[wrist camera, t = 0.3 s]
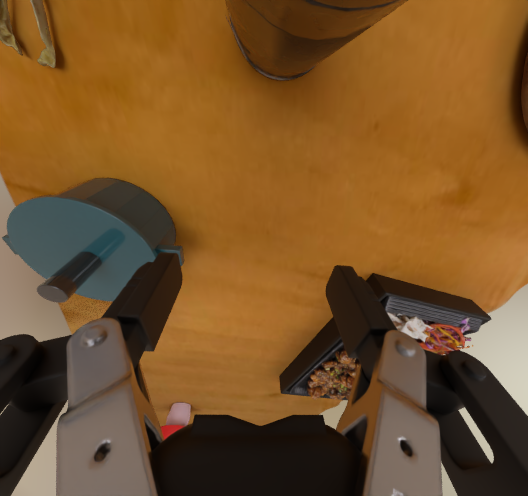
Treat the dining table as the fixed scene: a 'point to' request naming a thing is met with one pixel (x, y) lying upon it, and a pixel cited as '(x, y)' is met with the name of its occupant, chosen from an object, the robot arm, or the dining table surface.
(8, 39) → the tongs
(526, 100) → the wooden plate
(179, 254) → the saucepan
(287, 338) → the dining table surface
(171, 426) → the mushroom
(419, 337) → the food platter
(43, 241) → the pan lid
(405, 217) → the dining table surface
